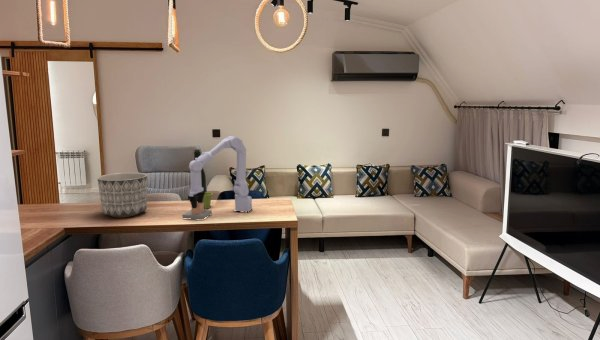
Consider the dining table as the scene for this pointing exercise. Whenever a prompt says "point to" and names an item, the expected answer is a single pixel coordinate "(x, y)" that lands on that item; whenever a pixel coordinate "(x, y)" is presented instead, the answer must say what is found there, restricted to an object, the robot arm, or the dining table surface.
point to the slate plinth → (197, 216)
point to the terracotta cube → (198, 208)
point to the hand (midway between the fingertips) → (197, 206)
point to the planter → (123, 193)
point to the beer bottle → (203, 175)
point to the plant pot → (207, 199)
